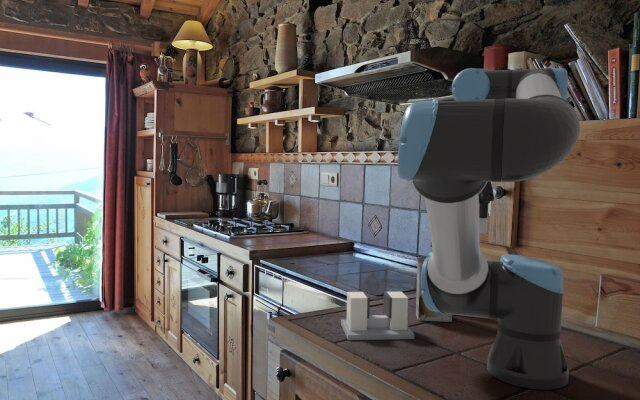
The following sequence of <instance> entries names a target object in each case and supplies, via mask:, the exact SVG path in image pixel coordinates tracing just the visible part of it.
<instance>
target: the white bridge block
mask: <svg viewBox="0 0 640 400" xmlns="http://www.w3.org/2000/svg"><path fill="white" fill-rule="evenodd" d="M382 309H383V313H384V315H387V316H388V318H390V329H391V330H407V326H408V316H409V315H408V314H409V313H408V312H409V297H408V296H407V295H406V294H405V293H404V292H402V291H383V308H382Z"/></svg>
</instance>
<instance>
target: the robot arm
mask: <svg viewBox="0 0 640 400" xmlns="http://www.w3.org/2000/svg"><path fill="white" fill-rule="evenodd" d="M568 81H569V77H568V71H567V70H566V68H563V67H545V68H544V67H542V68H528V69H527V68H526V69H501V70H489V69H486V68H473V67H470V68H465V69H463V70H461V71H460V72H458V73H457V74H456V76H455V77H454V78H453V81H452V82H451V83H452V84H451V95H452V97H453V100H439V99H437V98H434V99H432V100H422V101H415V102H412V103H410V104H409V105H408V106H407V107H406V109H405V112H404V113H403V117H402V122H401V127H400V132H399V133H400V134H399V140H398V149H397V151H398V152H397V174H398V177H399V178H400V179H402V180H406V181H408V182H409V181H412V183H413V186H414V189H415V191H416V192H417V193H418V194H419V195H420V196H421V197H422V198H424V201H425V207H426V209H425V210H426V213H427V214H426V215H427V221H428V229H429V234H430V235H429V236H430V244H431V243H432V247H431V251H432V250H433V254H432V255H431V256H429V257H427V256H426V257H425V258H426V259H425V260H424V262H423V266H422V272H421V288H422V298H423V301H424V304H425V306H426V307H427V308H428V309H429V310H431V311H434V312H439V313H441V314H452V316H453V315H454V316H455V315H456V316H462V317H463V316H465V317H471V318H472V317H473V318H481V319H483V318H484V319H491V320H497V322H498V323H497V333H496V335H495V337H494V339H493V343H492V345H491V347H490V350H489V353H488V355H487V361H486V362H487V363H486V366H487V367H486V368H487V371H488V372H489V374H490V375H491V376H492V377H494V378H495V379H498V380H499V381H501V382H503V383H506V384H509V385H513V386H515V387H519V388H525V389H531V390H533V389H534V390H539V391H541V390H545V391H547V390H549V391H550V390H557V389H561V388H564V387H565V386H567V385H568V383H569V376H570V375H569V373H570V370H569V366H568V362H567V359H566V355H565V352H564V349H563V345H562V341H561V338H562V337H561V334H562V317H563V297H564V295H563V294H565V289H564V272H563V271H562V269H561V268H560V267H559V266H557V265H556V264H554V263H552V262H550V261H546V260H544V259H543V260H542V259H539V258H535V257H531V256H527V255H526V256H525V255H520V254H510V253H508V254H507V253H505V254H502V255H501V258H500V259H499V261H495V260H487V258H486V256H485V255H484V253H482V251H481V247H480V243H481V242H480V234H487V233H488V225H489V204H490V203H491V202H494V201H495V196H494V190H493V183H509V182H510V183H512V182H513V183H514V182H522V181H526V180H528V179H529V180H530V179H532V178H536V177H538V176H540V175H542V174H545V173H547V172H548V171H549V172H550V171H551V170H552V169H554V168H555V167H556V166H558V165H559V164H560V163H562V162H563V161H564V160H565V159H566V158H567V157H568V156H569V155H570V154H571V152H572V151H574V150H573V149H574V148H575V146H576V144H577V142H578V141H579V136H580V131H581V129H580V128H581V127H580V126H581V125H580V120H579V117H578V114H577V112H576V110H575V108H574V107H573V106H572V104H571V103H570V102H568V101H567V95H568ZM492 182H493V183H492Z"/></svg>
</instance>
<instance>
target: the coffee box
mask: <svg viewBox="0 0 640 400" xmlns="http://www.w3.org/2000/svg"><path fill="white" fill-rule="evenodd" d="M426 258H427V257H417V260H416V263H417V264H416V294H415V295H416V297H415V298H416V300H415V302H416V303H415V304H416V306H415V315H416V318H417V321H419V322H420V321H421V322H422V321H424V322H447V323H448V322H449V323H452V321H453V314H441V313H439V312H434V311H431V310H429V309H428V308H427V307H426V306H425V304H424V301H423V298H422V288H421V272H422V266H423V262H424V260H425V259H426Z"/></svg>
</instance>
